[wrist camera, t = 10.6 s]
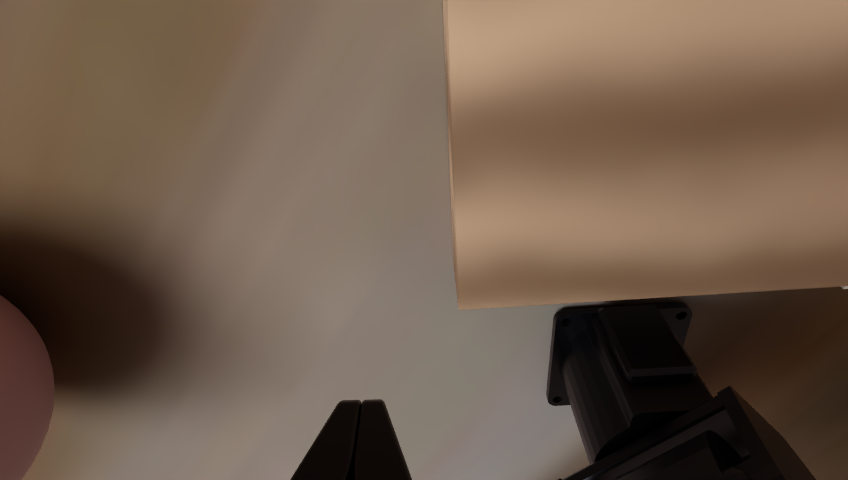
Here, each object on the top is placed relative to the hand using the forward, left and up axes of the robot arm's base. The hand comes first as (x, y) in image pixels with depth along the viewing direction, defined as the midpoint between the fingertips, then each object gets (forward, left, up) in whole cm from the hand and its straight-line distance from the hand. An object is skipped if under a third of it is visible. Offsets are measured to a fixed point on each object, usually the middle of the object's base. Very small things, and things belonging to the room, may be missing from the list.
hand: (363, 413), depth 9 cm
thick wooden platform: (+2, -10, -12) cm, 16 cm away
